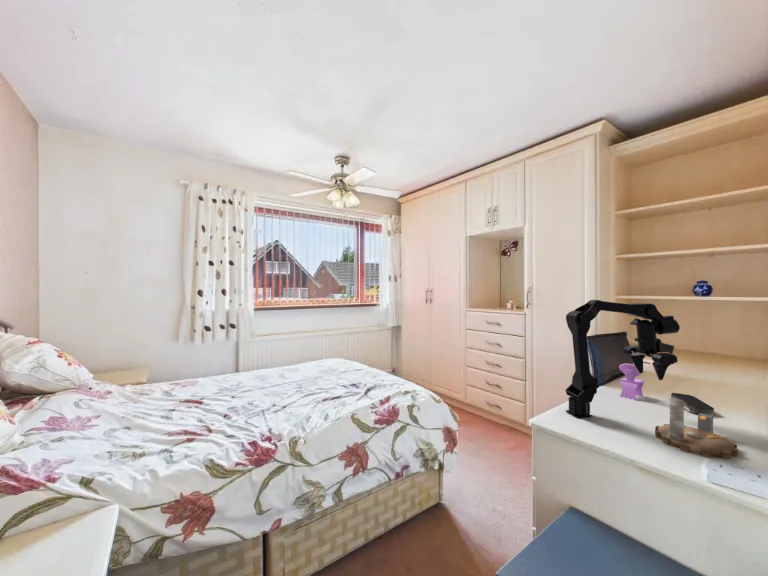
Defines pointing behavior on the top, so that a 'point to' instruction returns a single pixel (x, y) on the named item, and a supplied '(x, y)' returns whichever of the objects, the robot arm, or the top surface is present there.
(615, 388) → the top surface
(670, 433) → the sprocket
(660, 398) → the top surface
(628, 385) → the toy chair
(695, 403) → the black sponge
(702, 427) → the grey toy mallet
